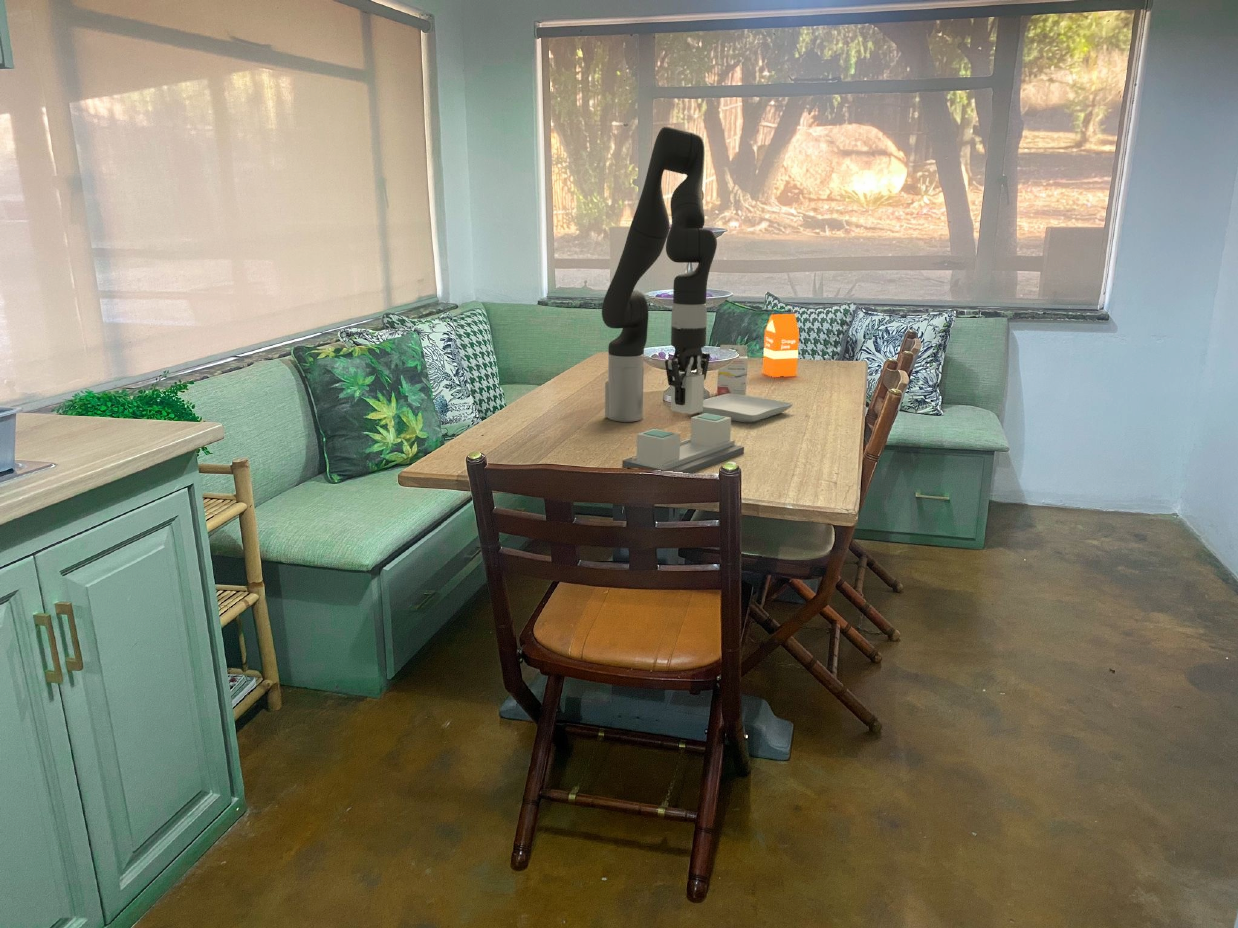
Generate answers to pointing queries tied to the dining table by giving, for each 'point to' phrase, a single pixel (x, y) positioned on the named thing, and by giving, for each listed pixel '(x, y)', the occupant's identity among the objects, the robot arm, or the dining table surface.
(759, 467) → the dining table surface
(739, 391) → the ink cartridge box
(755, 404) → the salad plate
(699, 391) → the loose module
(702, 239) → the robot arm
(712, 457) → the board
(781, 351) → the orange juice
